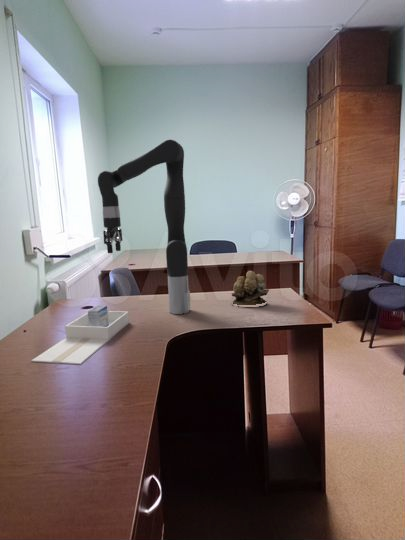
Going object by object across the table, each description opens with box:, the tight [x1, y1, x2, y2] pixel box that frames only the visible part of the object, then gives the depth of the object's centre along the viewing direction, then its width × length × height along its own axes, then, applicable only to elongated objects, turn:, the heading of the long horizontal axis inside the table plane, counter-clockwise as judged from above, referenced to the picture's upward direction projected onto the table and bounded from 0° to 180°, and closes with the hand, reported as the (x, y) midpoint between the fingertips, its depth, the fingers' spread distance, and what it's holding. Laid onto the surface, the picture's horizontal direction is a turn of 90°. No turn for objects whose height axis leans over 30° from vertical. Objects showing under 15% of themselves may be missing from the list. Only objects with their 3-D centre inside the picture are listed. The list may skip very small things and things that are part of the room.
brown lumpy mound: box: [231, 270, 270, 305], centre depth 160 cm, size 18×12×17 cm, turn 88°
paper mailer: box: [31, 310, 130, 365], centre depth 123 cm, size 17×38×5 cm, turn 169°
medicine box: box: [87, 305, 109, 327], centre depth 132 cm, size 8×4×9 cm, turn 170°
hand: (114, 251), depth 155 cm, fingers open, 8 cm apart
